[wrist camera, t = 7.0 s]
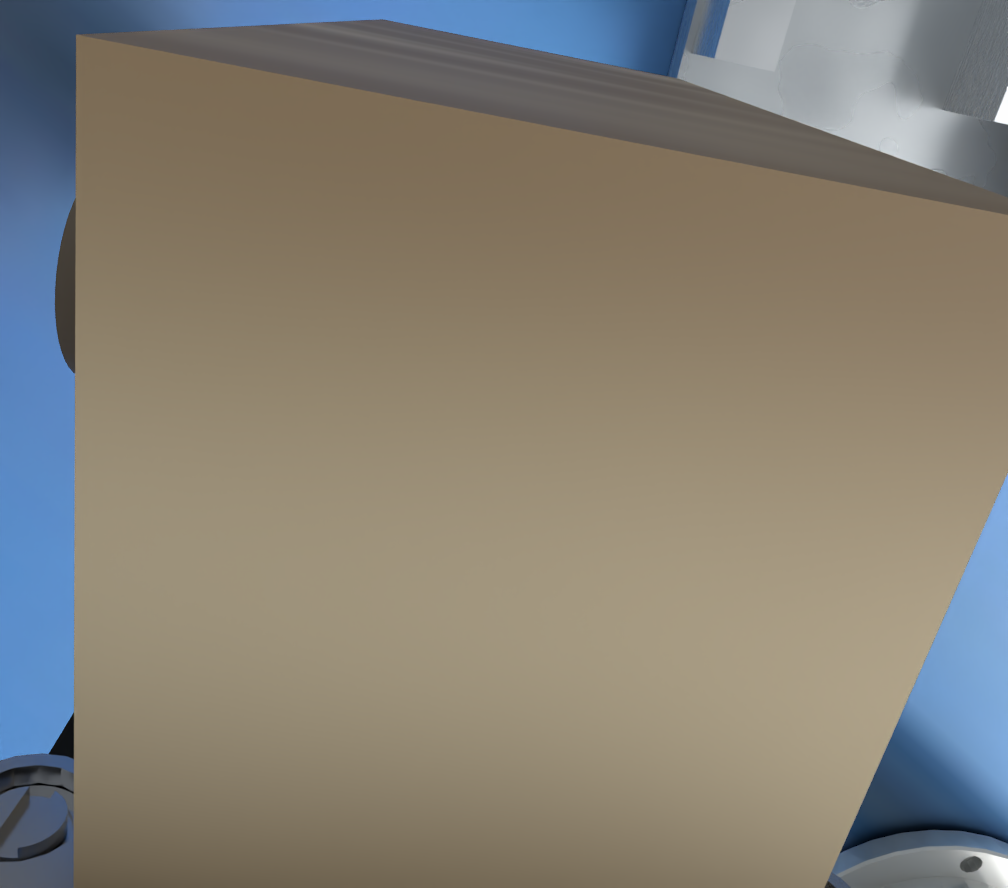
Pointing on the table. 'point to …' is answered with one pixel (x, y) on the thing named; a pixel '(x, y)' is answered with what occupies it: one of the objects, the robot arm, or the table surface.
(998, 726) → the table surface
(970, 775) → the table surface
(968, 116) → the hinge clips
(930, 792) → the table surface
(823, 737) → the door
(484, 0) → the table surface
